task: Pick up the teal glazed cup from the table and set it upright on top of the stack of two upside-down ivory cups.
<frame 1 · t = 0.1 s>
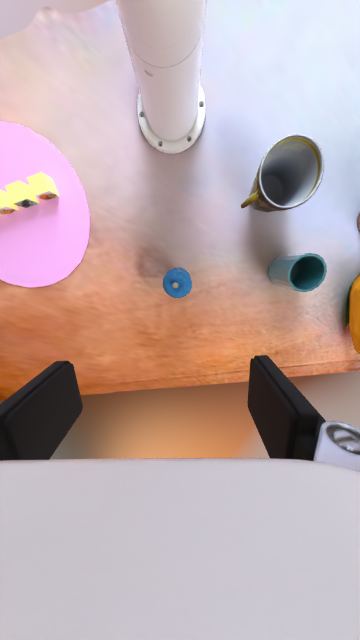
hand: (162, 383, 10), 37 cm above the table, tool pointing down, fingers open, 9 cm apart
platter: (17, 213, 42), on the table
ceramic cup: (258, 198, 40), on the table
ornament: (179, 277, 45), on the table
corn: (354, 310, 47), on the table
teal cup: (283, 270, 44), on the table
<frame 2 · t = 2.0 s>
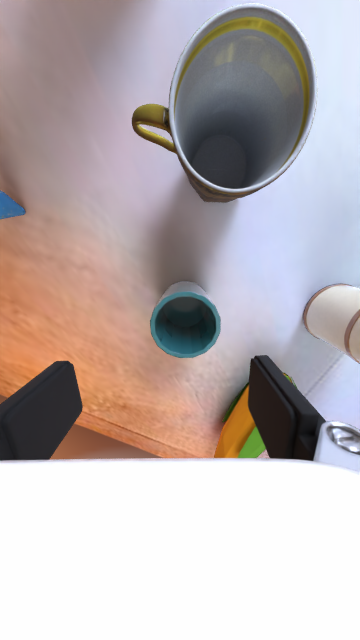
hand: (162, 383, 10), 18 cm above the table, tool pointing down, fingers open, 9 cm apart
ceramic cup: (204, 172, 23), on the table
ornament: (23, 212, 24), on the table
corn: (243, 408, 33), on the table
cup stack: (332, 312, 27), on the table
teal cup: (184, 305, 28), on the table
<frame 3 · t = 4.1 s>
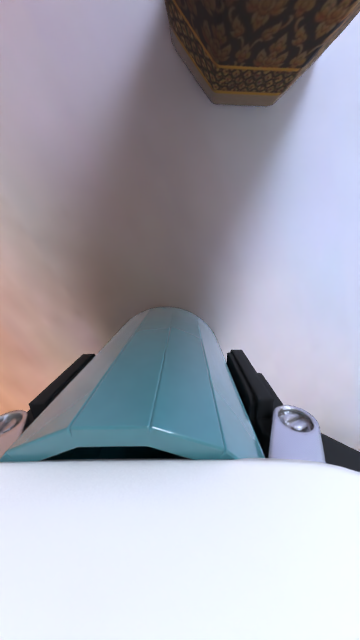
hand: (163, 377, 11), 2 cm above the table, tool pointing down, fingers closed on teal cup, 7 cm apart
ceramic cup: (214, 16, 8), on the table
teal cup: (167, 357, 13), on the table, touching gripper
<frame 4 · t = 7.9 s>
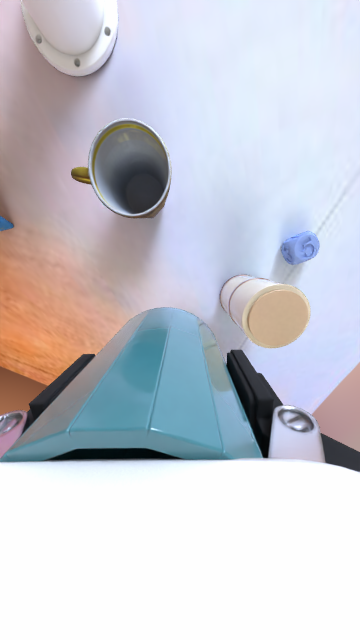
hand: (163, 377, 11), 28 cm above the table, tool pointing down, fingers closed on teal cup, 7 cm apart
ceramic cup: (137, 197, 33), on the table
ornament: (12, 226, 34), on the table
decorative dice: (292, 249, 35), on the table
cup stack: (240, 296, 37), on the table
teal cup: (166, 357, 13), point 26 cm above the table, touching gripper
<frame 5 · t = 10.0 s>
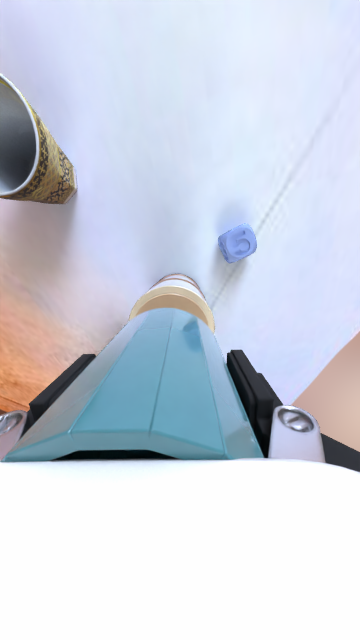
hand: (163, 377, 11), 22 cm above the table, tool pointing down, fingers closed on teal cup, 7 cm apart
ceramic cup: (45, 179, 27), on the table
decorative dice: (233, 245, 30), on the table
cup stack: (176, 299, 32), on the table
teal cup: (167, 357, 13), point 20 cm above the table, touching gripper
when the fingers open (18 cm above the table, at t = 11.7 s): teal cup stays where it is, resting on cup stack.
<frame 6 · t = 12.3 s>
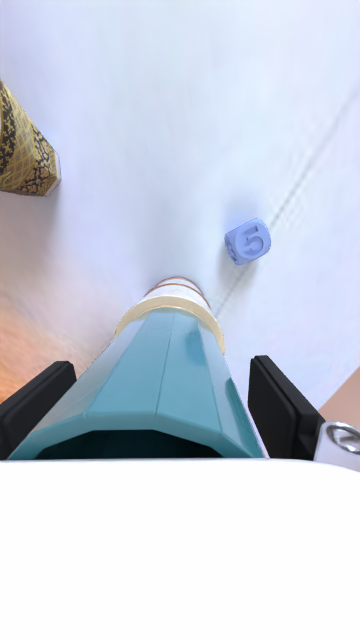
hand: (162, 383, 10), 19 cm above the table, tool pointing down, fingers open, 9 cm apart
ceramic cup: (23, 167, 24), on the table
decorative dice: (241, 244, 26), on the table
cup stack: (176, 305, 28), on the table
teal cup: (168, 355, 13), point 15 cm above the table, touching cup stack
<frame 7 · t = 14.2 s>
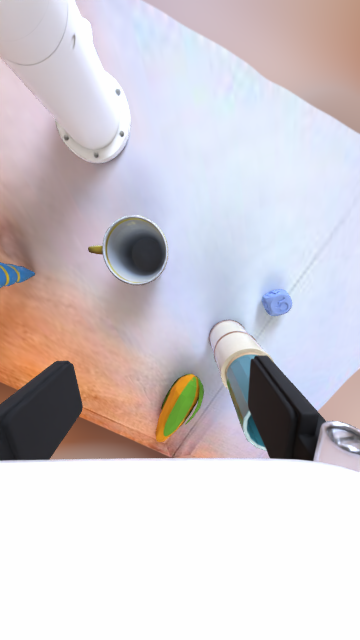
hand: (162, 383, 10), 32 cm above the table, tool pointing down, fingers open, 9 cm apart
ceramic cup: (140, 254, 39), on the table
ornament: (33, 273, 41), on the table
corn: (177, 400, 48), on the table
decorative dice: (271, 300, 40), on the table
cup stack: (227, 337, 43), on the table
teal cup: (249, 375, 28), point 15 cm above the table, touching cup stack
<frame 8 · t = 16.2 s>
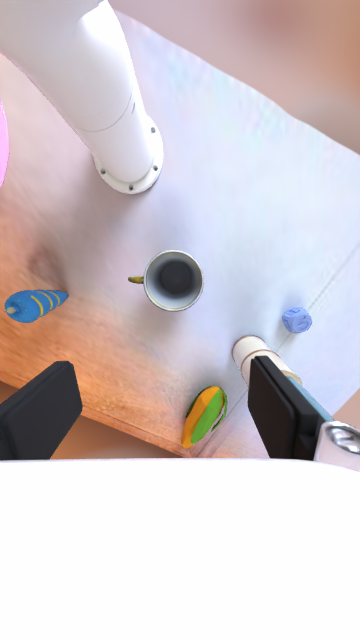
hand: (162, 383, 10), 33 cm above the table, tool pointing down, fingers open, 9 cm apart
ceramic cup: (169, 277, 41), on the table
ornament: (67, 295, 43), on the table
corn: (200, 409, 51), on the table
decorative dice: (291, 317, 43), on the table
cup stack: (248, 351, 46), on the table
teal cup: (279, 394, 31), point 15 cm above the table, touching cup stack
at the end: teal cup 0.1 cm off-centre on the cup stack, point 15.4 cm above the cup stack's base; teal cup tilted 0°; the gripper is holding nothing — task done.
